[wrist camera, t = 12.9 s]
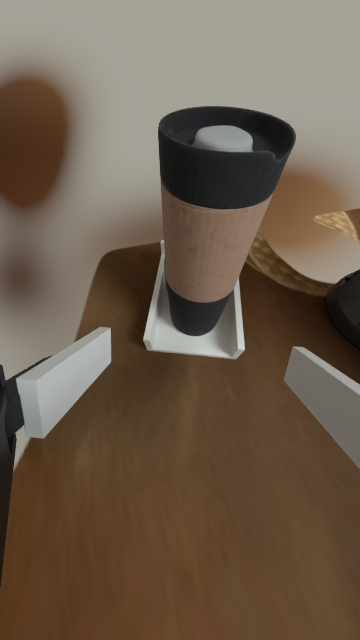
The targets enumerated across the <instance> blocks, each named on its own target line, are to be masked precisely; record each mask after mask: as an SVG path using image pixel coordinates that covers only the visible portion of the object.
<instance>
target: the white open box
mask: <svg viewBox="0 0 360 640" xmlns="http://www.w3.org/2000/svg"><path fill="white" fill-rule="evenodd" d="M161 253H162V254H161V259H160V264H159V268H158V273H157V278H156V282H155V287H154V292H153V296H152V301H151V306H150V310H149V315H148V320H147V324H146V329H145V334H144V338H143V341H144V343H145V346H146V348H147V350H148V351H158V352H168V353H179V354H189V355H199V356H209V357H219V358H229V359H237V358H238V357H239V356H240V354H241V353H242V352H243V351H244V350H245V346H244V334H243V323H242V311H241V300H240V288H239V277H238V280H237V282H236V285H235V287H234V289H233V291H232V293H231V295H230V297H229V299H228V302H227V304H226V306H225V308H224V310H223V312H222V314H221V316H220V318H219V320H218V322H217V324H216V326H215V327H214V329H213V330H212V331H210V332H209V333H207V334H205V335H202V336H189V335H186V334H183V333H181V332H180V331H179V330H178V329H176V327H175V326H174V325H173V323H172V320H171V315H170V307H169V298H168V290H166V282H165V268H164V258H165V249H164V240H161Z"/></svg>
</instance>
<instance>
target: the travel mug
mask: <svg viewBox="0 0 360 640" xmlns="http://www.w3.org/2000/svg"><path fill="white" fill-rule="evenodd" d="M295 139H296V134H295V131H294V129H293V128H292V127H291V126H290V125H289V124H288V123H286V122H284V121H283V120H281V119H279V118H277V117H274V116H272V115H269V114H266V113H262V112H258V111H254V110H249V109H242V108H235V107H223V106H206V107H193V108H186V109H182V110H178V111H175V112H172V113H170V114H168V115H166V116H165V117H163V118H162V119H161V121H160V123H159V129H158V140H159V158H160V176H161V194H162V213H163V231H164V249H165V268H166V281H167V290H168V298H169V307H170V315H171V320H172V323H173V325H174V326H175V327H176V329H178V330H179V331H180V332H181V333H183V334H186V335H189V336H202V335H205V334H207V333H209V332H210V331H212V330H213V329H214V327H215V326H216V324H217V322H218V320H219V318H220V316H221V314H222V312H223V310H224V308H225V306H226V304H227V302H228V299H229V297H230V295H231V293H232V291H233V289H234V287H235V285H236V282H237V280H238V277H239V275H240V273H241V270H242V268H243V265H244V263H245V260H246V258H247V256H248V253H249V251H250V248H251V246H252V243H253V241H254V239H255V236H256V234H257V231H258V229H259V226H260V224H261V222H262V219H263V217H264V214H265V212H266V209H267V207H268V205H269V202H270V200H271V197H272V195H273V192H274V190H275V188H276V185H277V183H278V180H279V178H280V175H281V173H282V171H283V168H284V166H285V163H286V161H287V158H288V157H289V154H290V153H291V150H292V148H293V146H294V144H295Z"/></svg>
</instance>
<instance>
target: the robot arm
mask: <svg viewBox="0 0 360 640" xmlns="http://www.w3.org/2000/svg"><path fill="white" fill-rule="evenodd" d="M326 306H327V310H328V313H329V316H330V318H331V320H332V321H333V323H334V324H335V326H336V327H337V328H338V330H339V331H340V332H341V333H342V334H343V335H344V336H345V337H346V338H347V339H348V340H349V341H350V342H352V343H353V344H354V345H356V346H357V347H358V348H360V270H358V271H355V272H353V273H351V274H349V275H347V276H345V277H344V278H342V279H341V280H340V281H339V282H337V283H336V284H335V285H334V286H333V287H332V288H331V289H330V290H329V292H328V294H327V297H326ZM110 363H111V328H106V327H99V328H98V329H96V330H94V331H93V332H91V333H90V334H88V335H86V336H85V337H83V338H81V339H80V340H78V341H76V342H75V343H73V344H72V345H70V346H68V347H67V348H65V349H63V350H62V351H60V352H58V353H57V354H55V355H52V356H50V357H47V358H44V359H42V360H40V361H39V362H37V363H35V365H32V366H30V367H29V368H28V369H25V370H24V371H22V372H20V373H19V374H17V375H15V376H13V377H12V378H10V379H8V380H6V381H5V377H4V371H3V367H2V365H0V585H1V576H2V567H3V558H4V549H5V540H6V531H7V522H8V513H9V503H10V494H11V485H12V476H13V467H14V457H15V449H16V440H17V439H16V434H15V433H16V432H17V431H18V430H19V429H20V428H21V427H22V426H23V425H24V428H25V434H26V436H28V437H35V438H45V436H46V435H47V434H48V433H49V432H50V431H51V430H52V428H53V427H54V426H55V425H56V424H57V423H58V422H59V421H60V419H61V418H62V417H63V416H64V415H65V414H66V413H67V411H68V410H69V409H70V408H71V407H72V406H73V405H74V404H75V402H76V401H77V400H78V399H79V398H80V397H81V396H82V394H83V393H84V392H85V391H86V390H87V389H88V388H89V386H90V385H91V384H92V383H93V382H94V381H95V380H96V379H97V377H98V376H99V375H100V374H101V373H102V372H103V371H104V369H105V368H106V367H107V366H108V365H109V364H110ZM284 381H285V382H286V384H287V385H288V386H289V387H290V388H291V389H292V391H293V392H294V393H295V394H296V395H297V397H298V398H299V399H300V400H301V401H302V402H303V404H304V405H305V406H306V407H307V408H308V409H309V411H310V412H311V413H312V414H313V415H314V416H315V418H316V419H317V420H318V421H319V422H320V423H321V425H322V426H323V427H324V428H325V429H326V430H327V432H328V433H329V434H330V435H331V436H332V437H333V439H334V440H335V441H336V442H337V443H338V444H339V446H340V447H341V448H342V449H343V450H344V451H345V453H346V454H347V455H348V456H349V457H350V458H351V460H352V461H353V462H354V463H355V464H356V465H357V467H358V468H359V469H360V385H359V384H358V383H356V382H355V381H353V380H352V379H350V378H349V377H347V376H346V375H344V374H343V373H341V372H340V371H338V370H337V369H335V368H334V367H332V366H331V365H329V364H328V363H326V362H325V361H323V360H322V359H320V358H319V357H317V356H316V355H314V354H313V353H311V352H310V351H308V350H307V349H305V348H304V347H294V346H293V348H292V352H291V355H290V359H289V363H288V366H287V370H286V374H285V378H284Z"/></svg>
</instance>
